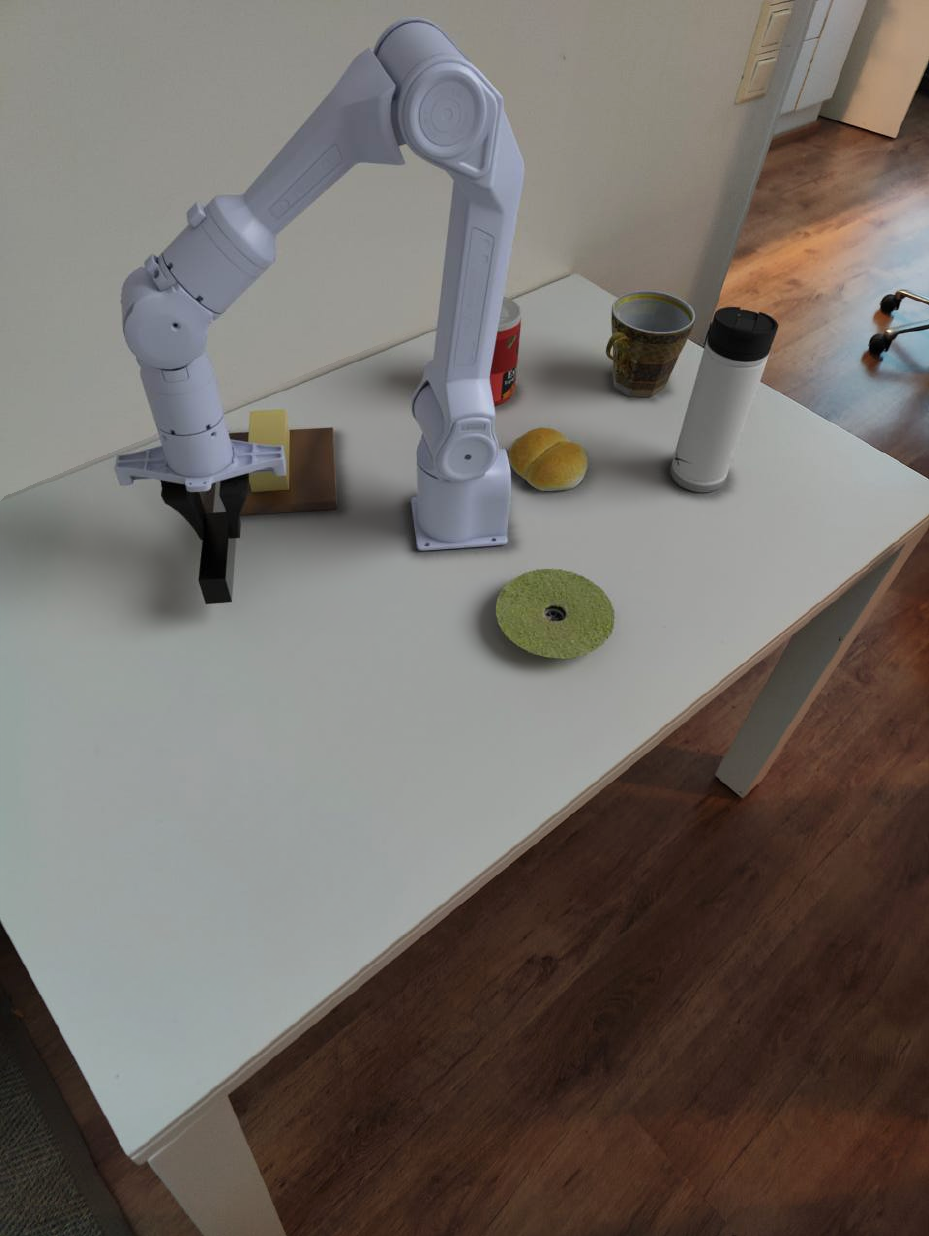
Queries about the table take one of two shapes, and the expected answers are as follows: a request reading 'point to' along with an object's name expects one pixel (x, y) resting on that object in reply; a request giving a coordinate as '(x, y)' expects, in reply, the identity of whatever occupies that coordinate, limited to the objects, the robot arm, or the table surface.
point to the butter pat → (268, 481)
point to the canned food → (505, 352)
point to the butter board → (295, 476)
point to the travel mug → (722, 397)
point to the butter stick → (270, 429)
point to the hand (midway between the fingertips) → (220, 532)
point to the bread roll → (548, 460)
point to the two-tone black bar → (217, 555)
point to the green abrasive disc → (555, 613)
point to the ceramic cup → (647, 340)
